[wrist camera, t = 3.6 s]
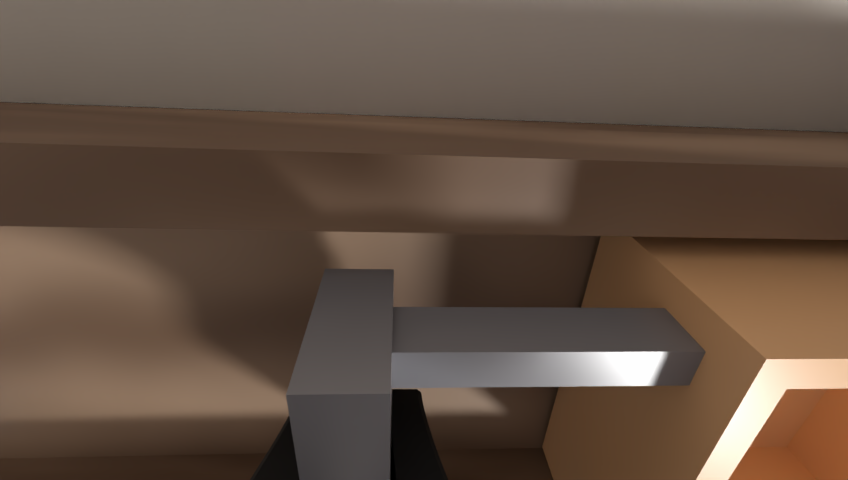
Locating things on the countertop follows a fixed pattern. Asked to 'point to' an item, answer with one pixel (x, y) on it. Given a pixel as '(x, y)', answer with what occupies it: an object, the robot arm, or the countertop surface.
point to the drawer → (606, 364)
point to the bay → (324, 261)
